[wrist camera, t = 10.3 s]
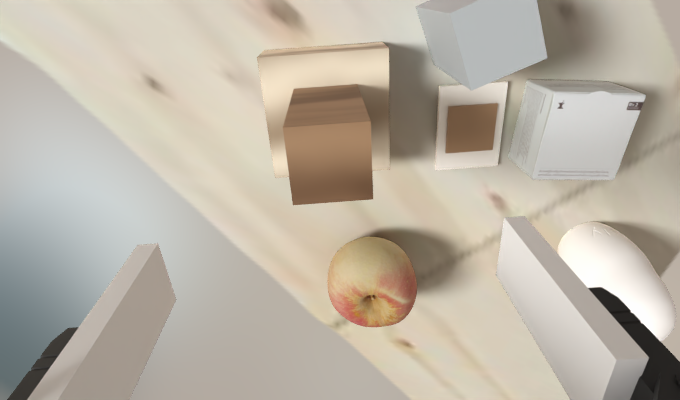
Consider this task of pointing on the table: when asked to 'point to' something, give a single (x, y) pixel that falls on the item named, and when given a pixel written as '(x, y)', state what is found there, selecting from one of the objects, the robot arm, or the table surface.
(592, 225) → the figurine
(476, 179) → the table surface
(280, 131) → the birch base
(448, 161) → the tile
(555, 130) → the small box
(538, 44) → the slate pillar
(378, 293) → the apple
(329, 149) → the walnut pillar
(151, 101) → the table surface
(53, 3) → the table surface
